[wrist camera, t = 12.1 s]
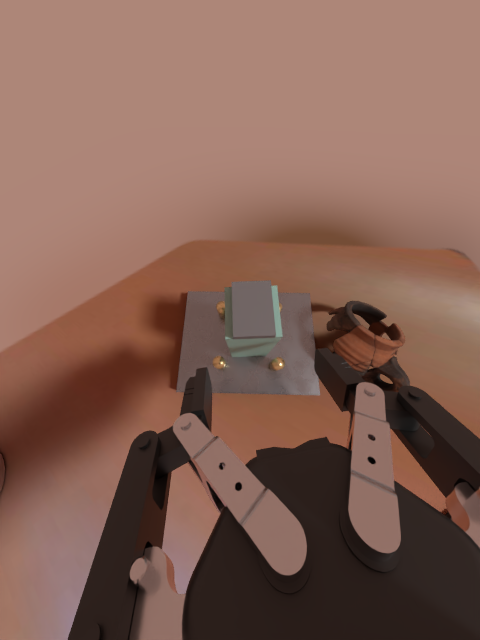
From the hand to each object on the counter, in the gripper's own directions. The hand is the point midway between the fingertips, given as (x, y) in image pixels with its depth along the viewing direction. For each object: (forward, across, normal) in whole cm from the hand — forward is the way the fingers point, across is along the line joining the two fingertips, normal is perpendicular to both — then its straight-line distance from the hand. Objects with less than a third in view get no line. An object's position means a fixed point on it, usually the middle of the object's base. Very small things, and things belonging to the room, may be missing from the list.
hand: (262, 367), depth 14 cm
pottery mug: (+10, -14, +9) cm, 19 cm away
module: (+11, 0, +5) cm, 12 cm away
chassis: (+12, 0, +6) cm, 14 cm away
